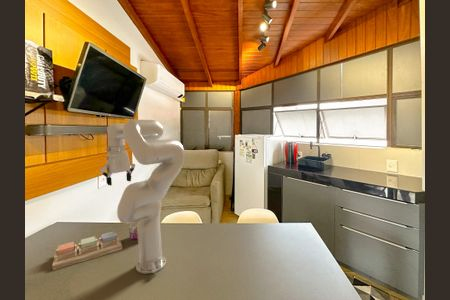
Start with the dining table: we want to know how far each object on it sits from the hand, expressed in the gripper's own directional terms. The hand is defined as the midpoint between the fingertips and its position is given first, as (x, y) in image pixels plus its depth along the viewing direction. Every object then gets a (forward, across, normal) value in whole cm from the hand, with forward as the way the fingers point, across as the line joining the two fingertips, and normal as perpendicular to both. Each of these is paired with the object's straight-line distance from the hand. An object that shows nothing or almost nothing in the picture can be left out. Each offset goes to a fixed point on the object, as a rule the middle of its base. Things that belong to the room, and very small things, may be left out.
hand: (119, 182), depth 113 cm
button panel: (+34, -14, +8) cm, 37 cm away
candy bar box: (+34, +10, +1) cm, 35 cm away
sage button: (+30, -14, +8) cm, 34 cm away
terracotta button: (+30, -22, +10) cm, 39 cm away
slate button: (+30, -5, +5) cm, 31 cm away
